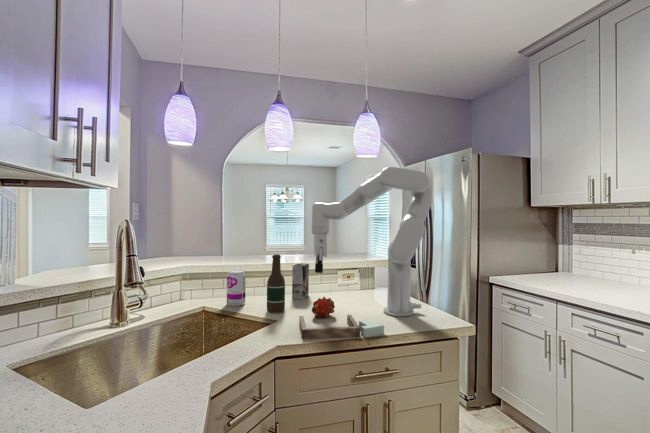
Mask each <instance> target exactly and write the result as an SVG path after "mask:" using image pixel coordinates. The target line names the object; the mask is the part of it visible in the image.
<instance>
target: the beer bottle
mask: <svg viewBox="0 0 650 433" xmlns="http://www.w3.org/2000/svg"><path fill="white" fill-rule="evenodd" d="M281 256H282V255H280V254H273V255H272V256H271V258H272V264H271V273H270V275H269V276H268V279H267V281H266V282H267V284H266V312H267V313H270V314H279V313H283V312H284V311H285V307H286V306H285V304H286V303H285V302H286V281H285V280H286V279H285V277H284V276H283V274H282V270H281Z"/></svg>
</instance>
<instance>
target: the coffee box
mask: <svg viewBox="0 0 650 433" xmlns="http://www.w3.org/2000/svg"><path fill="white" fill-rule="evenodd" d="M309 271H310V264H309V263H296V264H294V265H292V278H291V279H292V280H291V282H292V283H291V285H292V286H291V298H292V299H295V300H305V299H306V298H307V297H308V296H309V295H310V294H309V292H310V290H309V289H310V288H309V286H310V285H309V284H310V283H309V281H310V280H309V278H310V272H309Z"/></svg>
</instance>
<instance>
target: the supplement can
mask: <svg viewBox="0 0 650 433" xmlns="http://www.w3.org/2000/svg"><path fill="white" fill-rule="evenodd" d="M246 276H247V275H246V273H245V270H242V269H232V270H229V271H228V272H227V274H226V304H227V306H229V307H230V306H231V307H240V305H241V306H243V305H244V304H246V283H247V282H246Z"/></svg>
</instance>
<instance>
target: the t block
mask: <svg viewBox="0 0 650 433" xmlns="http://www.w3.org/2000/svg"><path fill="white" fill-rule="evenodd" d="M358 322H359V323H358V325H359V327H360V336H362V337H363V338H369V337H373V336H380V335H384V334H385V325H384V324H382V323H379V322H378V323H375V324H374V323H371V322H370V321H368V320H366V319H364V320H358Z"/></svg>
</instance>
